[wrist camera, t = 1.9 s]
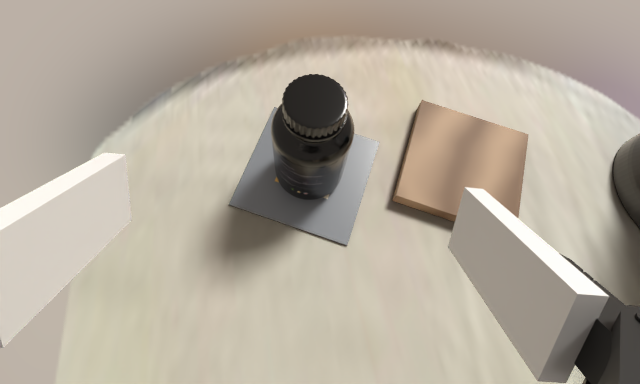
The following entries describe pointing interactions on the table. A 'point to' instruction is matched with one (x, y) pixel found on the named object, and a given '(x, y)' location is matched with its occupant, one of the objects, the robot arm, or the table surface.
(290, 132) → the supplement bottle
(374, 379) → the table surface
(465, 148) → the walnut board
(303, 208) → the gray card
